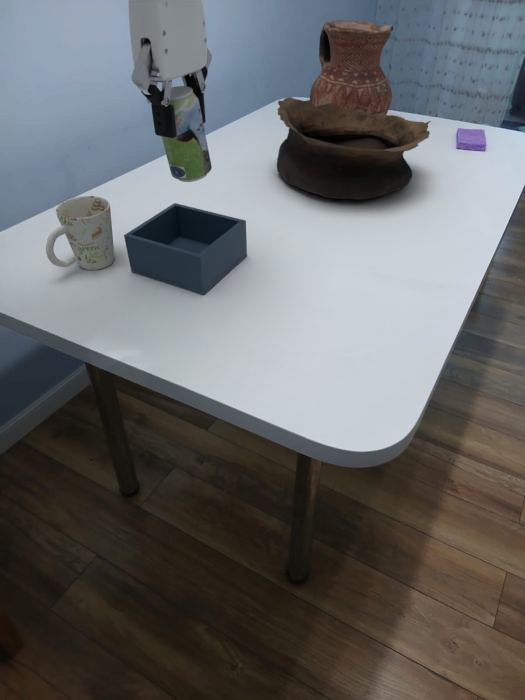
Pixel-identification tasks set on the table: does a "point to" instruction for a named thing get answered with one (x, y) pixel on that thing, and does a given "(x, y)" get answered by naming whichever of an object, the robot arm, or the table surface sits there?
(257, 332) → the table surface
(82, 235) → the mug
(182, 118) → the beverage can
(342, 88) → the jug
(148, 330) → the table surface
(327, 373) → the table surface
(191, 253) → the bin
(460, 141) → the sponge
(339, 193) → the bowl
